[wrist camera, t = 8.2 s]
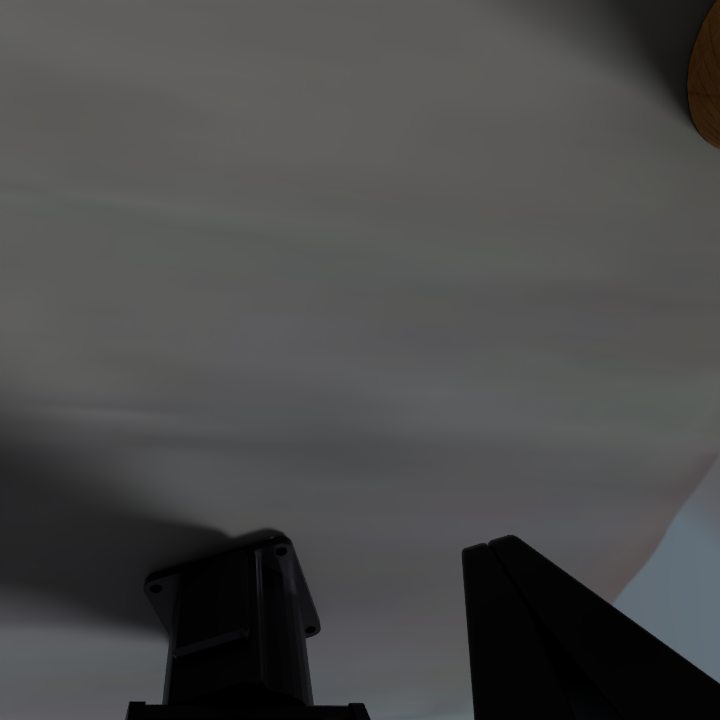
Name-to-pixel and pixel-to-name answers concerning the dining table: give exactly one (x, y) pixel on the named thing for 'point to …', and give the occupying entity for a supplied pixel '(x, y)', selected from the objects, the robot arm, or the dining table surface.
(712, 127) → the disposable coffee cup
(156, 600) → the robot arm
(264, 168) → the dining table surface
